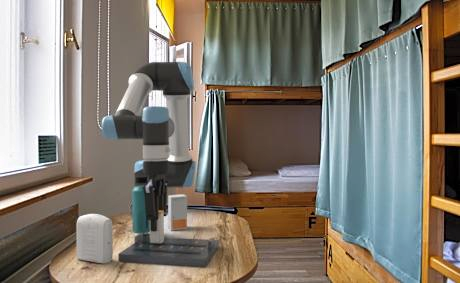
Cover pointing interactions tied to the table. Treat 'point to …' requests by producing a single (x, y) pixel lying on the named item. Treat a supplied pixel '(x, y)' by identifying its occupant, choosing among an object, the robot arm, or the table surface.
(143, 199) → the beverage bottle
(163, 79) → the robot arm
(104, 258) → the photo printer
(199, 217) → the table surface
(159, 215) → the fader
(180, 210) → the skincare box
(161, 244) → the console
